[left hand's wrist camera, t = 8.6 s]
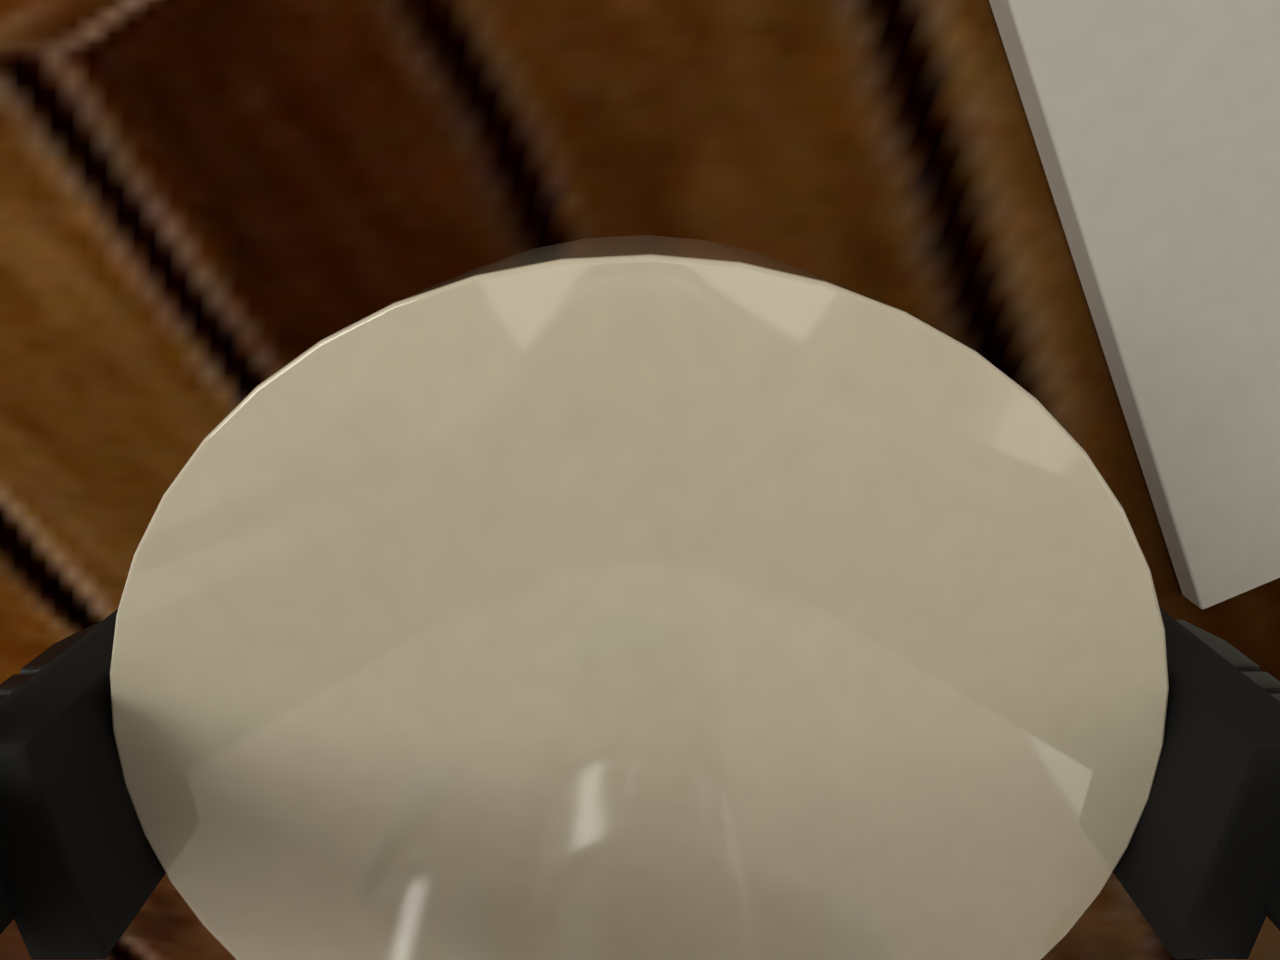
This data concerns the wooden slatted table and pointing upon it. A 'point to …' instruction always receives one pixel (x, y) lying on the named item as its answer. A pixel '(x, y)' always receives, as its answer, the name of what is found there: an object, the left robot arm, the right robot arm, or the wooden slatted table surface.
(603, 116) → the wooden slatted table surface
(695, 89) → the wooden slatted table surface
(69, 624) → the wooden slatted table surface
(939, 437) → the cap
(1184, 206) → the grey mat
